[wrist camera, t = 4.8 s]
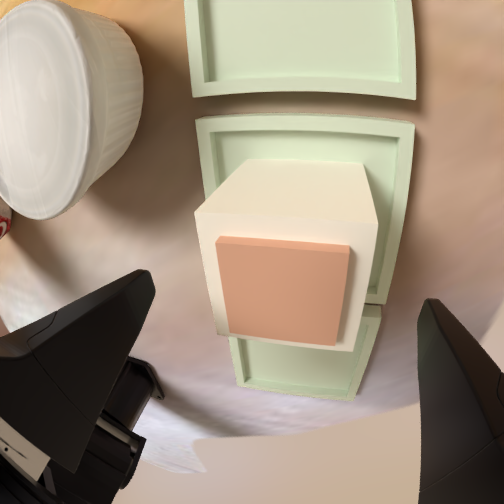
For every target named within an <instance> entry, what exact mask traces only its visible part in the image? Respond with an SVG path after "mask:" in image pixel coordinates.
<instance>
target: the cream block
mask: <svg viewBox="0 0 504 504" xmlns="http://www.w3.org/2000/svg"><path fill="white" fill-rule="evenodd" d="M194 215H195V221H196V227H197V233H198V238H199V244H200V249H201V255H202V260H203V265H204V271H205V276H206V281H207V286H208V291H209V296H210V301H211V306H212V311H213V316H214V320H215V325H216V330H217V334H218V335H223V336H228V337H234V338H241V339H247V340H253V341H260V342H267V343H274V344H282V345H290V346H298V347H307V348H316V349H325V350H336V351H347V352H353V349H354V345H355V341H356V337H357V333H358V329H359V325H360V320H361V316H362V312H363V307H364V303H365V298H366V293H367V288H368V283H369V278H370V273H371V267H372V261H373V256H374V250H375V243H376V237H377V230H378V220H377V216H376V211H375V207H374V203H373V199H372V195H371V191H370V187H369V184H368V180H367V176H366V173H365V169H364V166H363V164H362V163H350V162H335V161H318V160H294V159H247V160H246V161H245V162H244V163H243V164H242V165H240V166H239V167H238V168H237V169H236V170H235V171H234V172H233V173H232V174H231V175H230V176H229V177H228V178H227V179H226V180H225V181H224V182H223V183H222V184H221V185H220V186H219V187H218V188H217V189H216V190H215V191H214V192H213V193H212V194H211V195H210V196H209V197H208V198H207V200H206V201H205V202H204V203H203V204H202V205H201V206H200V207H199V208H198V209H197V210H196V211H195V212H194Z"/></svg>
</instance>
